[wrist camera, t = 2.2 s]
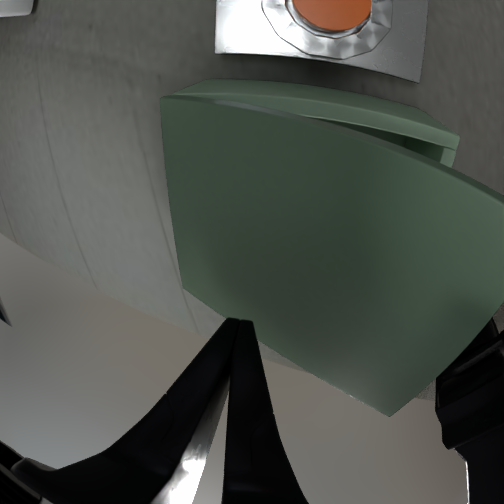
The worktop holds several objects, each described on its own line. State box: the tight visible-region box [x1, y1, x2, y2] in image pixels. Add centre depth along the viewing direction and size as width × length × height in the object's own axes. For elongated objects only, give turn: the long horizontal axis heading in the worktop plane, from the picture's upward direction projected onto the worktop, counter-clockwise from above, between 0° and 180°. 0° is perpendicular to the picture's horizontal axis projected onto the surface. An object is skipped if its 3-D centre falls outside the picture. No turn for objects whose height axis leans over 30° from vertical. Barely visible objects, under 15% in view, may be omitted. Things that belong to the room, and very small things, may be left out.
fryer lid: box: [160, 95, 504, 417], centre depth 11 cm, size 14×12×1 cm
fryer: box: [171, 79, 460, 168], centre depth 17 cm, size 14×12×6 cm
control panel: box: [214, 0, 428, 84], centre depth 11 cm, size 12×7×3 cm, turn 88°
